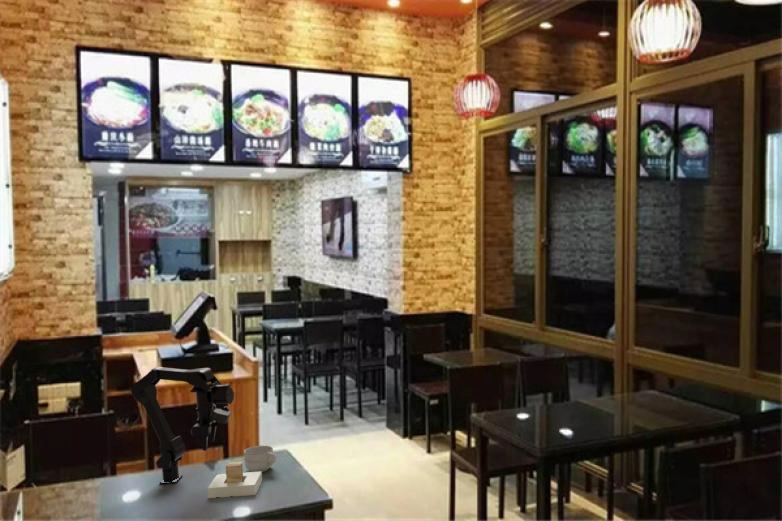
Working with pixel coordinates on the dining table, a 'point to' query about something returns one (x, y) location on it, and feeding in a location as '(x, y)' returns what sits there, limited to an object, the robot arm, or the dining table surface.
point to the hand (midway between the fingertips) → (208, 446)
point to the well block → (235, 485)
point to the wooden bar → (234, 472)
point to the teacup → (259, 458)
